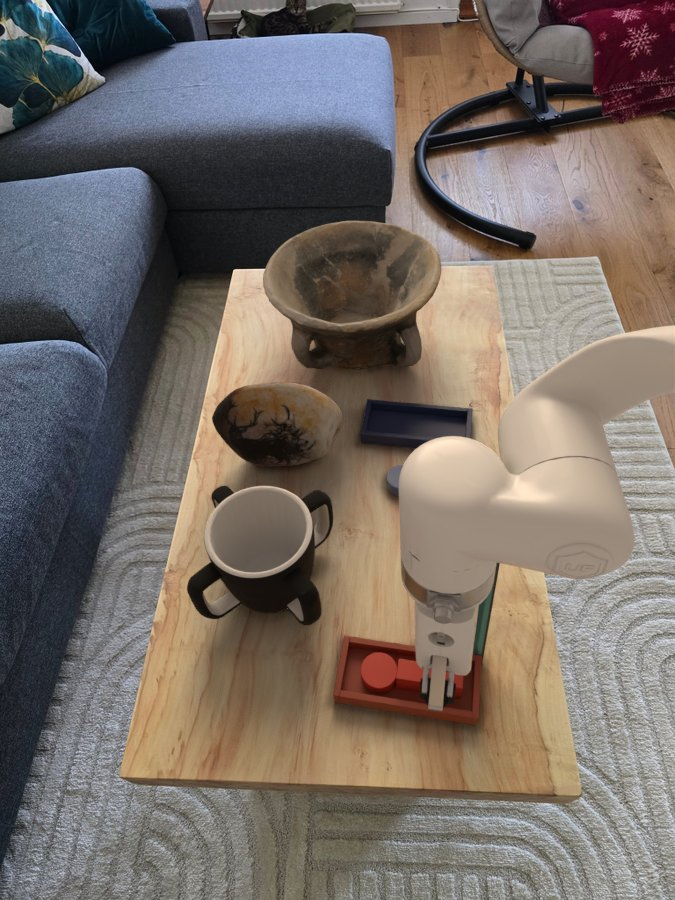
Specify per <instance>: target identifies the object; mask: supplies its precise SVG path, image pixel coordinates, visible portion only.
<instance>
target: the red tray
mask: <svg viewBox="0 0 675 900" xmlns="http://www.w3.org/2000/svg"><path fill="white" fill-rule="evenodd" d="M378 652H380V653H385V654H387V655H389V656H390V657H392V658H393V660H394V661H395V663H396V665H397V668H398V660H399V659H404V660H410V661H416V652H415V645H410V644H404V643H397V642H391V641H384V640H378V639H377V640H376V639H372V638H371V639H370V638H363V637H358V636H357V637H356V636H349V635H344V636H343V640H342V646H341V651H340V655H339V656H340V657H339V662H338V667H337V672H336V677H335V684H334V688H333V694H332V696H333V702H334V703H338V704H343V705H344V704H345V705H349V706H357V707H361V708H368V709H375V710H381V711H386V712H393V713H399V714H406V715H411V716H417V717H418V716H419V717H424V718H430V719H436V720H441V721H449V722H455V723H462V724H467V725H472V726H477V725H478V722H479V719H480V718H479V717H480V700H481V682H482V681H481V680H482V679H481V678H482V666H481V662H482V656H480V655H472V664H471V671H470V672H469V673H468V674H467V675H464V676H463V689H462V694H461V698H454V703H453V704H446V706H445V708H444V707H443V711H436V710H430V709H428V705H426V704H427V703H426V701H424V700H422V699H420V692H415V691H409V690H403V689H396V684H395V686H394V687H393V688H392V689H391V690H390V691H389V692H386V693H383V694H376V693H373V692H370V691H369V690H368V689H367V688H366V687H365V686H364V685H363V682H362V679H361V665H362V662H363V661H364V659H365V658H366V657H367V656H369V655H370V654H373V653H378ZM432 658H433V655H432ZM447 660H448V658H447ZM482 663H483V662H482Z"/></svg>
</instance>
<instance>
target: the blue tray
mask: <svg viewBox="0 0 675 900" xmlns="http://www.w3.org/2000/svg"><path fill="white" fill-rule="evenodd" d="M473 410H474V409H473V408H471V407H460V406H447V405H438V404H437V405H436V404H426V403H415V402H405V401H404V402H403V401H393V400H382V399H373V398H372V399H370V398H367V399H366V404H365V409H364V412H363V413H364V414H363V418H362V422H361V428H360V432H359V438H360V439H359V440H360V441H359V442H360V444H363V445H366V444H367V445H375V446H383V447H395V448H403V449H404V448H405V449H414V450H415V449H416V448H418V447H419V446H420V445H422V444H424V443H426V442H428V441H430V440H433V439H436V438H440V437H447V436H460V437H466V438H470V439H472V437H471V435H472V424H473V423H472V422H473Z"/></svg>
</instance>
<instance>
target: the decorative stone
mask: <svg viewBox="0 0 675 900" xmlns="http://www.w3.org/2000/svg"><path fill="white" fill-rule="evenodd" d="M211 421H212V424H213V426H214V429H215V431H216V432H217V434H218V435H219V437H220V438H221V440H223V441H224V443H225V444H226V445H227V446H228V447H229V449H231V450H232V451H233V453H235V454H236V455H237V456H238V457H239V458H240V459H242V460H243V461H245V462H247V463H250V464H252V465H255V466H259V467H281V466H282V467H283V466H284V467H285V466H298V465H303V464H307V463H309V462H311V461H313V460H318V459H321V458H322V457H325V456H326V455H327V453H329V450H330V448H331V446H332V445H333V444H334V443H335V441H336V439H337V437H338V436H339V433H340V431H341V429H342V427H343V424H344V423H343V422H344V415H343V411H342V410H341V408H340V406H339V405H338V404H337V403H336V402H335V401H334V400H333V398H331V397H329V396H328V395H327V394H325V393H323V392H321V391H320V390H318V389H316V388H313V387H311V386H308V385H305V384H302V383H297V382H290V381H275V382H266V383H258V384H256V383H255V384H247V385H243V386H241V387H237V388H236V389H234V390H233V391H231V392H229V393H228V394H227V395H226V396H225V397H224V398H223V399H222V400H221V401H220V402H219V403H218V404H217V406H216V407H215V409H214V411H213V414H212V416H211Z"/></svg>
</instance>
